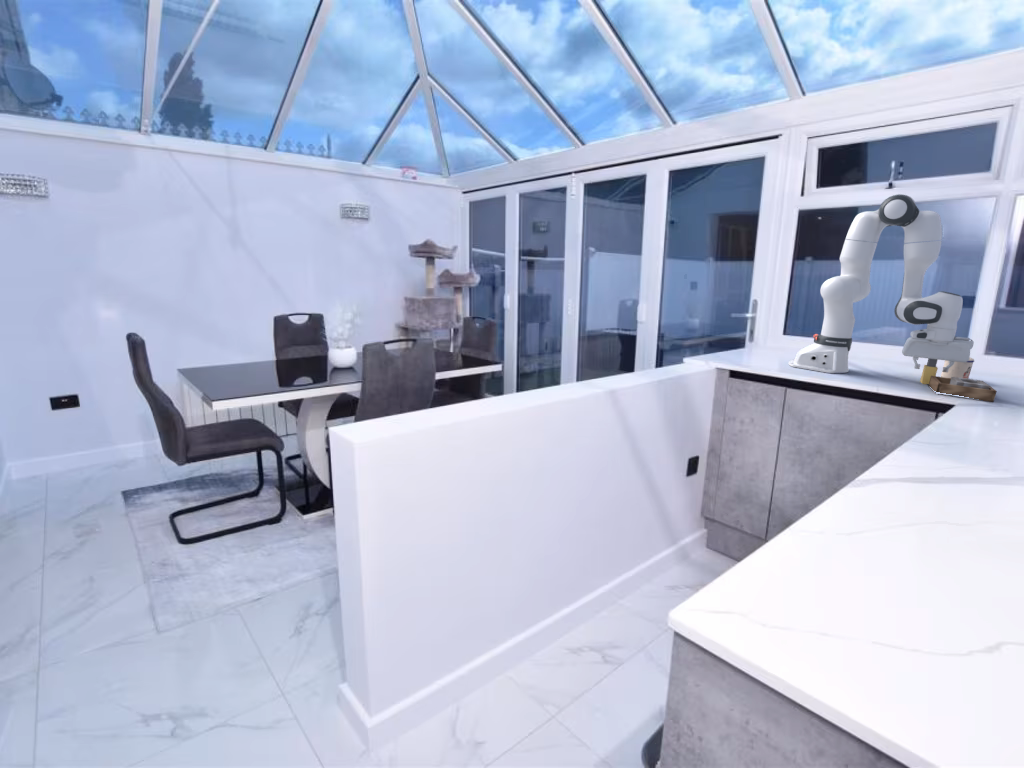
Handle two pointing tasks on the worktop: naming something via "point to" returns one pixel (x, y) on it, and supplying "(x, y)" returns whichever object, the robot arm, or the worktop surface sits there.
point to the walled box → (963, 387)
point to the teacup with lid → (958, 369)
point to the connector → (929, 371)
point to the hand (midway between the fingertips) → (930, 370)
